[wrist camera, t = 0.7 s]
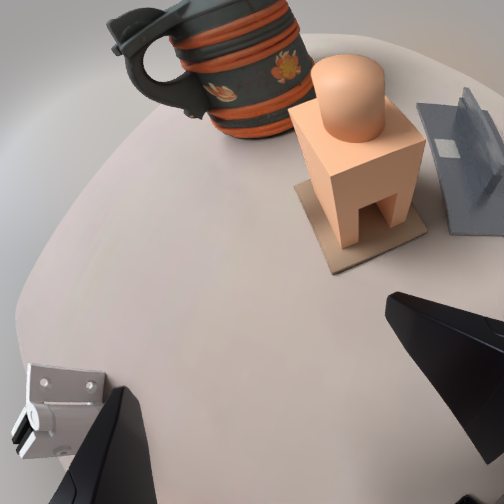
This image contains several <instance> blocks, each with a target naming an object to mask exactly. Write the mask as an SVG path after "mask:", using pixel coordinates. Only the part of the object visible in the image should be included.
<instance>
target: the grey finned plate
mask: <svg viewBox="0 0 504 504" xmlns="http://www.w3.org/2000/svg"><path fill="white" fill-rule="evenodd" d="M416 107H417V110H418V112H419V115H420V118H421V121H422V123H423V126H424V129H425V132H426V135H427V138H428V141H429V145H430V148H431V151H432V155H433V158H434V162H435V166H436V169H437V173H438V177H439V181H440V186H441V190H442V195H443V200H444V205H445V210H446V215H447V221H448V228H449V234H450V235H483V236H504V144H503V141H502V139H501V137H500V135H499V133H498V131H497V129H496V127H495V125H494V123H493V121H492V119H491V117H490V115H489V113H488V111H485V110H481V108H480V107H479V105H478V103H477V101H476V100H475V98H474V96H473V94H472V93H471V91H470V89H469V88H465V87H464V90H463V95H462V98H459V103H458V106H449V105H439V104H426V103H417V105H416Z"/></svg>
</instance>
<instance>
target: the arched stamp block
mask: <svg viewBox="0 0 504 504" xmlns="http://www.w3.org/2000/svg"><path fill="white" fill-rule="evenodd" d="M311 77H312V81H313V85H314V88H315V92H316V96H317V98H315V99H313V100H310V101H307V102H305V103H302V104H299V105H297V106H294V107H292V108H289V109H288V112H289V114H290V117H291V120H292V123H293V126H294V129H295V132H296V134H297V137H298V140H299V143H300V147H301V150H302V153H303V156H304V159H305V162H306V165H307V169H308V172H309V175H310V178H311V182H312V185H313V188H314V192H315V194H316V196H317V198H318V200H319V202H320V204H321V206H322V208H323V210H324V212H325V214H326V216H327V218H328V220H329V223H330V225H331V227H332V229H333V231H334V233H335V235H336V238H337V240H338V242H339V244H340V246H341V249H344V248H346V247H349V246H351V245H353V244H356V243H358V239H359V215H358V209H360V208H363V207H365V206H367V205H370V204H372V203H375V202H376V204H377V205H378V207H379V209H380V211H381V213H382V214H383V216H384V218H385V220H386V222H387V223H388V225H389V227H390V228H392V227H394V226H397V225H399V224H401V223H403V222H405V220H406V217H407V214H408V210H409V207H410V204H411V200H412V197H413V193H414V189H415V186H416V182H417V178H418V174H419V170H420V165H421V161H422V157H423V152H424V147H425V142H426V139H425V138H424V137H423V136H422V134H421V133H420V132H419V131H418V130H417V129H416V127H415V126H414V125H413V124H412V123H411V122H410V121H409V120H408V119H407V118H406V116H405V115H404V114H403V113H402V112H401V111H400V110H399V109H398V108H397V107H396V106H395V105H394V104H393V103H392V102H391V101H390V100H389V99H388V98H387V97H386V96H385V85H384V71H383V69H382V67H381V66H380V65H379V64H378V63H377V62H375V61H374V60H372V59H370V58H367V57H364V56H360V55H353V54H341V55H334V56H330V57H327V58H324V59H322V60H320V61H319V62H317V63H316V64H315V65H314V66H313V68H312V70H311Z"/></svg>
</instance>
